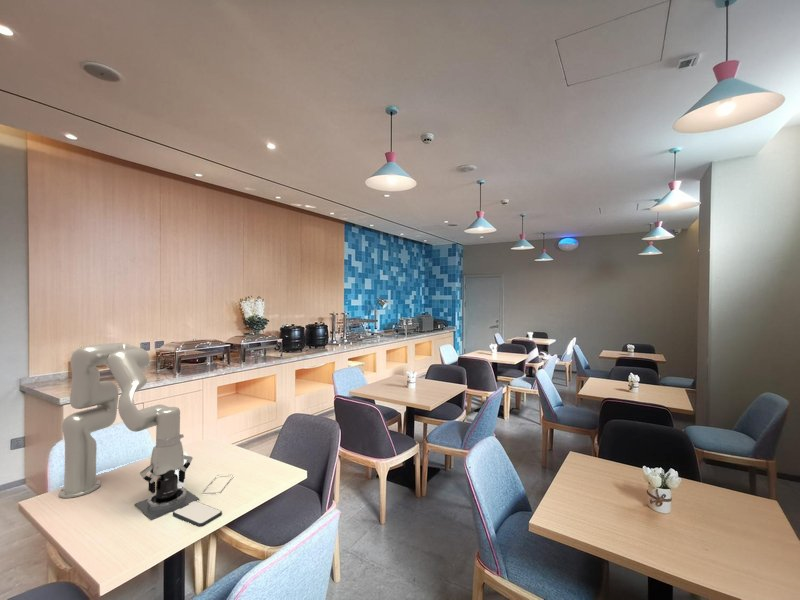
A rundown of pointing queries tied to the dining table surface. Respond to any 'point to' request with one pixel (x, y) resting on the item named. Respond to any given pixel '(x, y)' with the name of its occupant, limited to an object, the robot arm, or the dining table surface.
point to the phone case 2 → (214, 492)
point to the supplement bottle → (166, 487)
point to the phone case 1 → (197, 513)
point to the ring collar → (165, 504)
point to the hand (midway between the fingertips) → (167, 486)
